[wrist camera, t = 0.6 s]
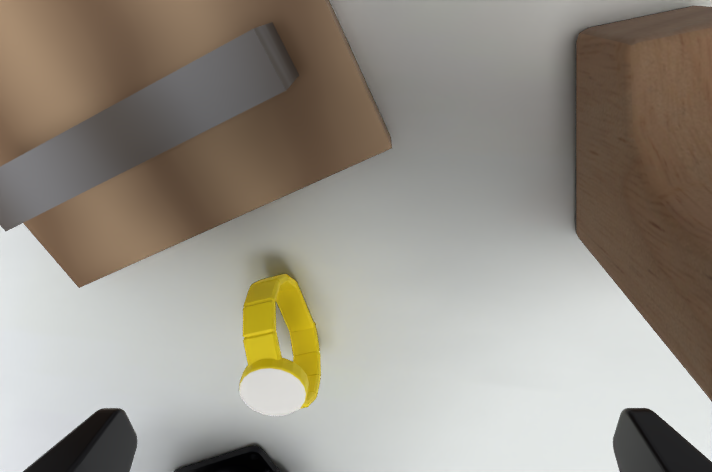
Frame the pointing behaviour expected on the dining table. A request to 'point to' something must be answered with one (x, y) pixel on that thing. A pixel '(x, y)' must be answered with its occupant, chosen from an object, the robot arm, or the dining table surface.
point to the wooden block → (651, 171)
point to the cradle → (169, 118)
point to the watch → (278, 349)
